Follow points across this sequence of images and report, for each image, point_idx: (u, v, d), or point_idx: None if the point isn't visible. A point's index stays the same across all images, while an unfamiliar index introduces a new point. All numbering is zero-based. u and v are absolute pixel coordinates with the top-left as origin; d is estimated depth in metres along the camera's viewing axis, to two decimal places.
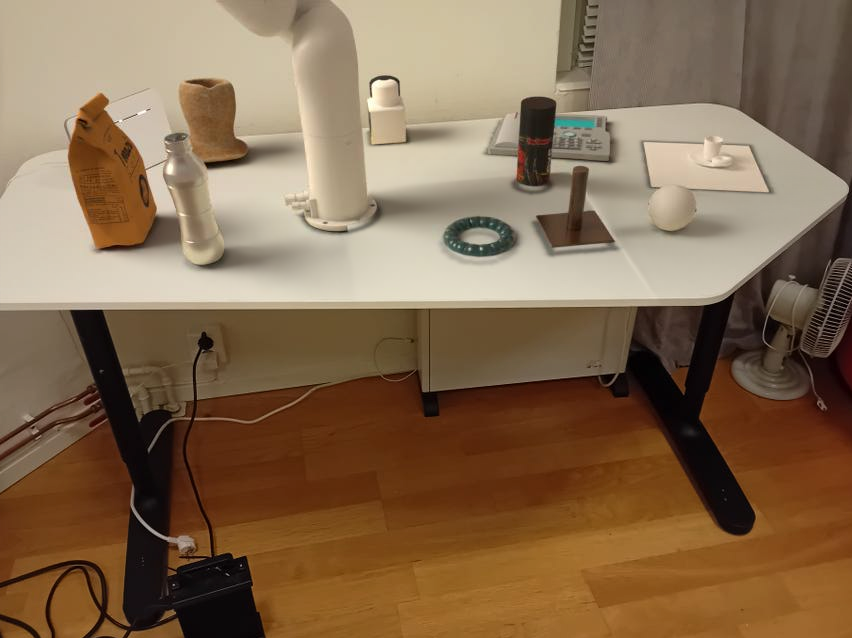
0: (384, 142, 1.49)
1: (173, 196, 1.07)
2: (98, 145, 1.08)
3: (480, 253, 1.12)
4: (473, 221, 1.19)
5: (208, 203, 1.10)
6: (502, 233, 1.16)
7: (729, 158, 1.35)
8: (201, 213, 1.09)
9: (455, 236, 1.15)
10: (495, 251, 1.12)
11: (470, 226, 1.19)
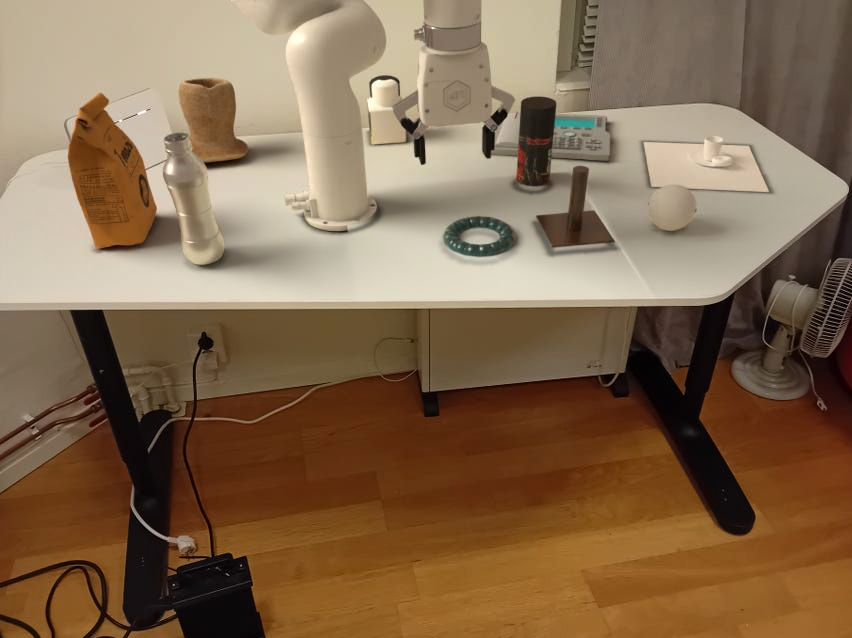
0: (384, 142, 1.49)
1: (173, 196, 1.07)
2: (98, 145, 1.08)
3: (480, 253, 1.12)
4: (473, 221, 1.19)
5: (208, 203, 1.10)
6: (502, 233, 1.16)
7: (729, 158, 1.35)
8: (201, 213, 1.09)
9: (455, 236, 1.15)
10: (495, 251, 1.12)
11: (470, 226, 1.19)
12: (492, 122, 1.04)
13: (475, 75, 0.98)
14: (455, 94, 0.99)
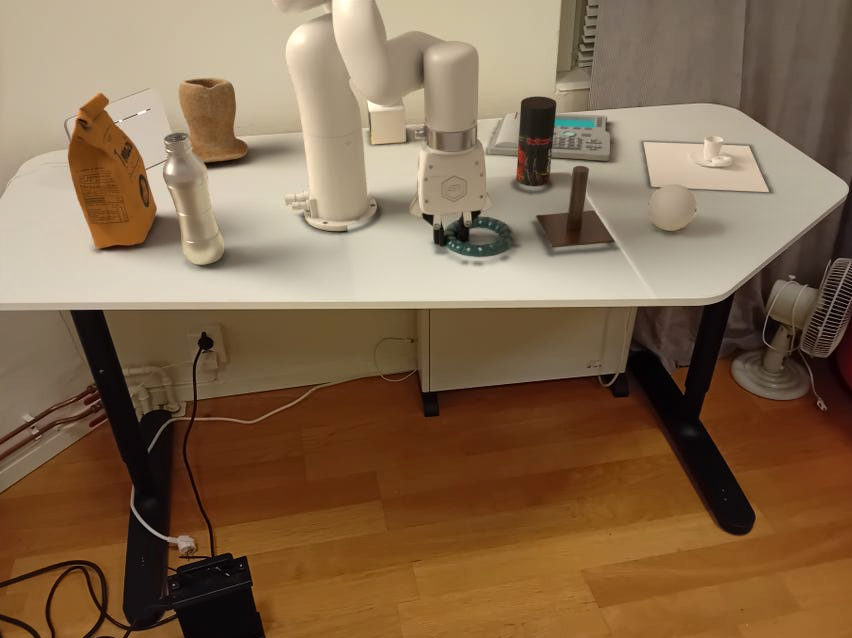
0: (384, 142, 1.49)
1: (173, 196, 1.07)
2: (98, 145, 1.08)
3: (478, 253, 1.12)
4: None
5: (208, 203, 1.10)
6: (501, 233, 1.16)
7: (729, 158, 1.35)
8: (201, 213, 1.09)
9: (454, 236, 1.15)
10: (494, 251, 1.12)
11: None
12: (469, 218, 1.13)
13: (471, 171, 1.06)
14: (452, 187, 1.08)
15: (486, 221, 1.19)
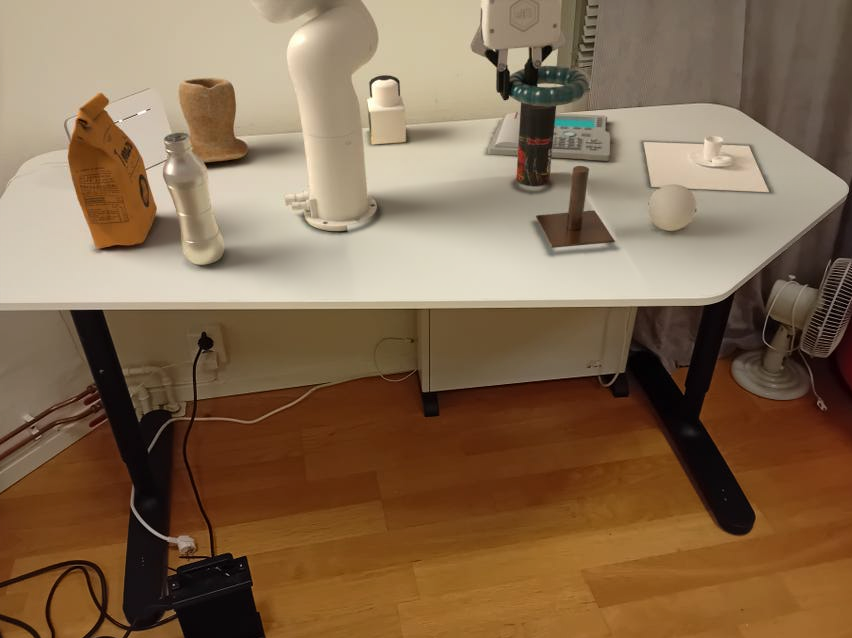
0: (384, 142, 1.49)
1: (173, 196, 1.07)
2: (98, 145, 1.08)
3: (550, 96, 0.98)
4: (539, 70, 1.05)
5: (208, 203, 1.10)
6: (574, 79, 1.01)
7: (729, 158, 1.35)
8: (201, 213, 1.09)
9: (520, 81, 1.01)
10: (568, 94, 0.98)
11: None
12: (539, 57, 0.98)
13: None
14: (522, 12, 0.93)
15: (555, 70, 1.04)
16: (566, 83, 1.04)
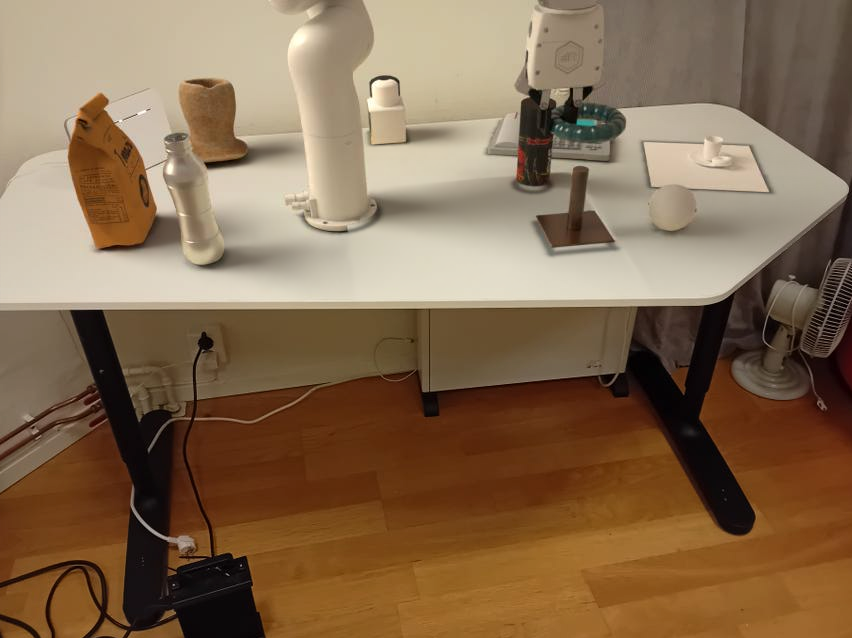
0: (384, 142, 1.49)
1: (173, 196, 1.07)
2: (98, 145, 1.08)
3: (591, 134, 1.02)
4: None
5: (208, 203, 1.10)
6: (612, 116, 1.06)
7: (729, 158, 1.35)
8: (201, 213, 1.09)
9: (561, 119, 1.05)
10: (608, 132, 1.02)
11: None
12: (580, 97, 1.03)
13: (589, 36, 0.96)
14: (567, 56, 0.98)
15: (592, 106, 1.09)
16: (603, 120, 1.08)
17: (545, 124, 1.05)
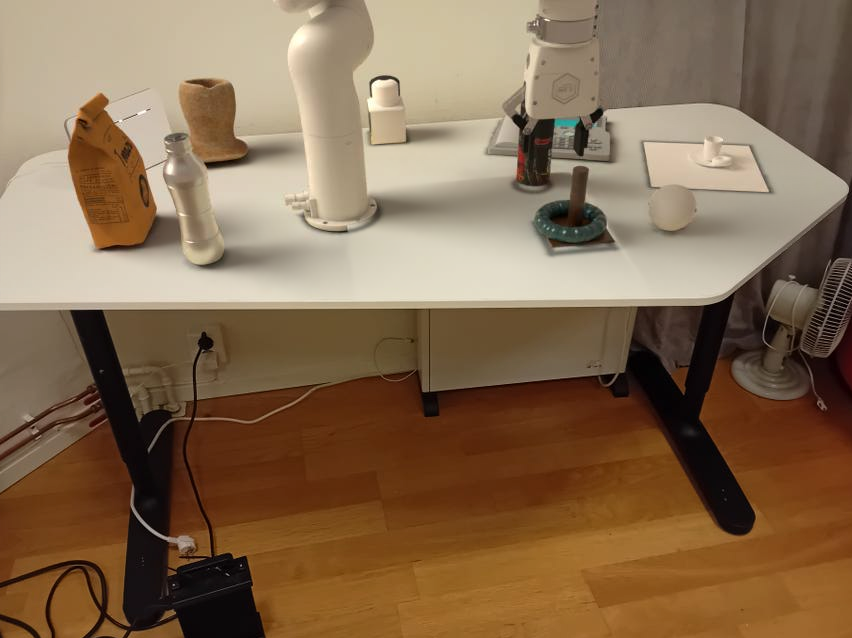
0: (384, 142, 1.49)
1: (173, 196, 1.07)
2: (98, 145, 1.08)
3: (575, 236, 1.12)
4: (562, 205, 1.19)
5: (208, 203, 1.10)
6: (594, 216, 1.16)
7: (729, 158, 1.35)
8: (201, 213, 1.09)
9: (548, 219, 1.15)
10: (590, 234, 1.13)
11: (559, 210, 1.19)
12: (589, 120, 1.05)
13: (585, 68, 0.99)
14: (564, 87, 1.00)
15: None
16: (586, 217, 1.18)
17: (528, 149, 1.07)
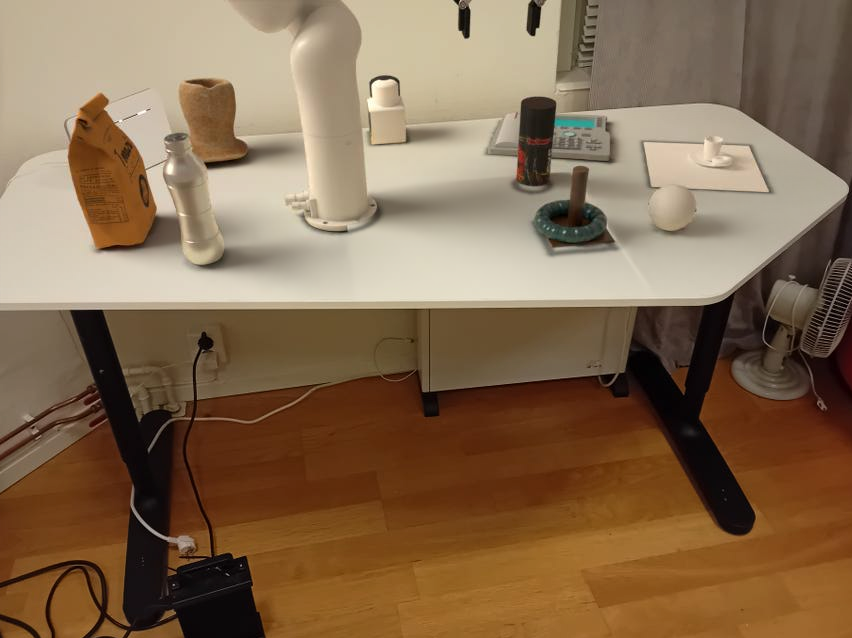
0: (384, 142, 1.49)
1: (173, 196, 1.07)
2: (98, 145, 1.08)
3: (575, 236, 1.12)
4: (562, 205, 1.19)
5: (208, 203, 1.10)
6: (594, 216, 1.16)
7: (729, 158, 1.35)
8: (201, 213, 1.09)
9: (548, 219, 1.15)
10: (590, 234, 1.13)
11: (559, 210, 1.19)
12: None
13: None
14: None
15: None
16: (586, 217, 1.18)
17: (465, 25, 1.04)
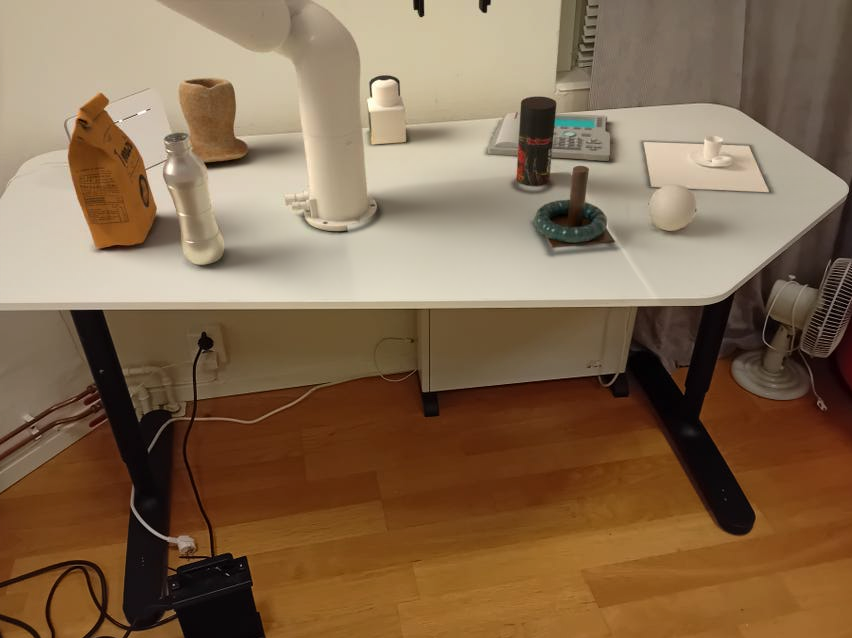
0: (384, 142, 1.49)
1: (173, 196, 1.07)
2: (98, 145, 1.08)
3: (575, 236, 1.12)
4: (562, 205, 1.19)
5: (208, 203, 1.10)
6: (594, 216, 1.16)
7: (729, 158, 1.35)
8: (201, 213, 1.09)
9: (548, 219, 1.15)
10: (590, 234, 1.13)
11: (559, 210, 1.19)
12: None
13: None
14: None
15: None
16: (586, 217, 1.18)
17: (419, 4, 1.09)
